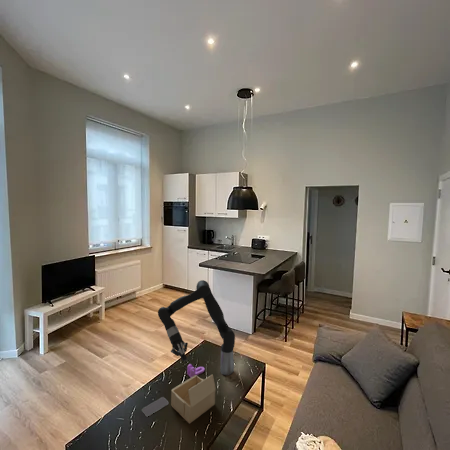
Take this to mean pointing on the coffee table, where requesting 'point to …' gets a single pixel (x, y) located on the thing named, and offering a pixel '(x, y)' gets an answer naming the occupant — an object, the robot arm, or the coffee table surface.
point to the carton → (182, 400)
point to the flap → (201, 390)
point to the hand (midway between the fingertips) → (185, 360)
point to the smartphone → (155, 406)
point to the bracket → (194, 370)
